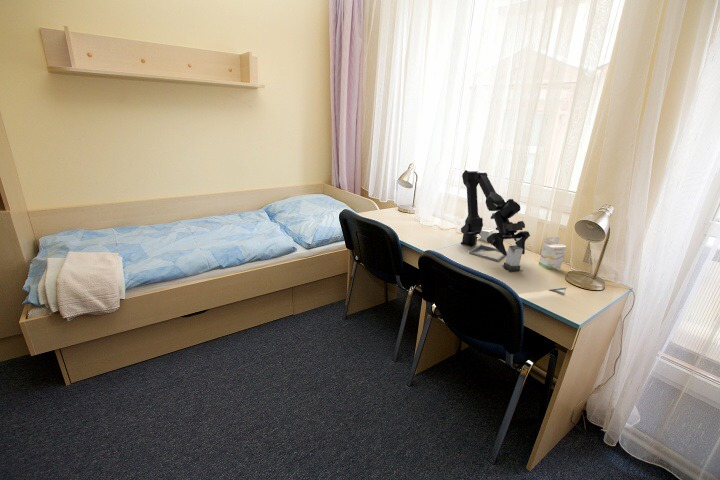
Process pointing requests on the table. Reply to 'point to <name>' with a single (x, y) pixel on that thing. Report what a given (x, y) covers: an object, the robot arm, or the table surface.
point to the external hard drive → (558, 290)
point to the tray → (485, 248)
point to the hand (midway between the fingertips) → (514, 254)
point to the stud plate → (511, 271)
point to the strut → (513, 258)
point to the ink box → (552, 253)
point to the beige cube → (485, 234)
